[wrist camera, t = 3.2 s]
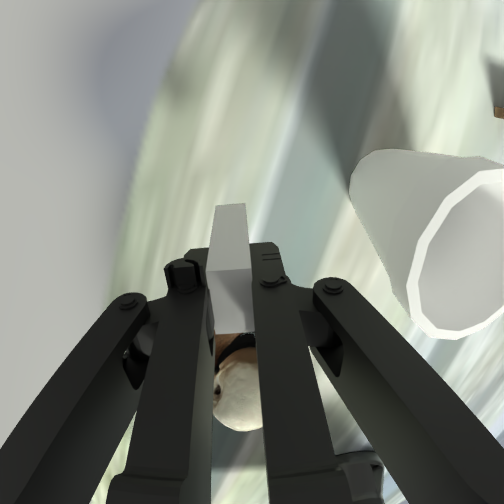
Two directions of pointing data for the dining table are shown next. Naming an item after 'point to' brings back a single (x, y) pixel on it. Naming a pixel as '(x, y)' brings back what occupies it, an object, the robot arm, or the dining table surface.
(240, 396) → the white and brown lump
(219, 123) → the dining table surface
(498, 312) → the foam cup
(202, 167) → the dining table surface
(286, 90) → the dining table surface
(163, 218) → the dining table surface
